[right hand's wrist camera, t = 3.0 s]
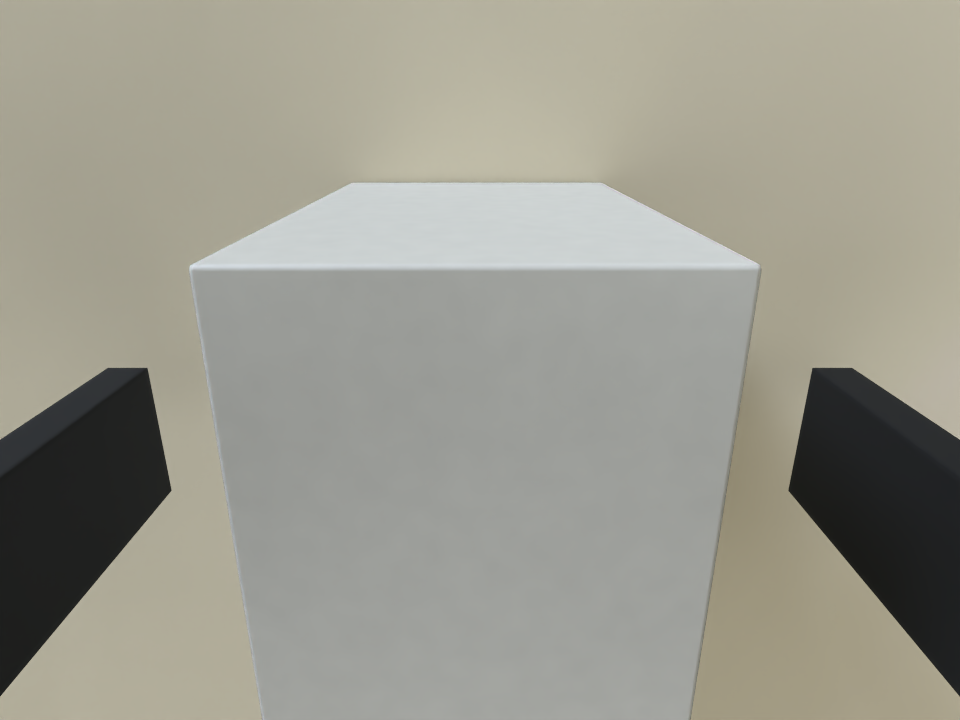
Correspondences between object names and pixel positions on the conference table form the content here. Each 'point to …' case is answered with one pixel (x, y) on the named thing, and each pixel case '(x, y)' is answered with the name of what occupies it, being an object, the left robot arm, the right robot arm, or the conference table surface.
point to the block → (475, 449)
